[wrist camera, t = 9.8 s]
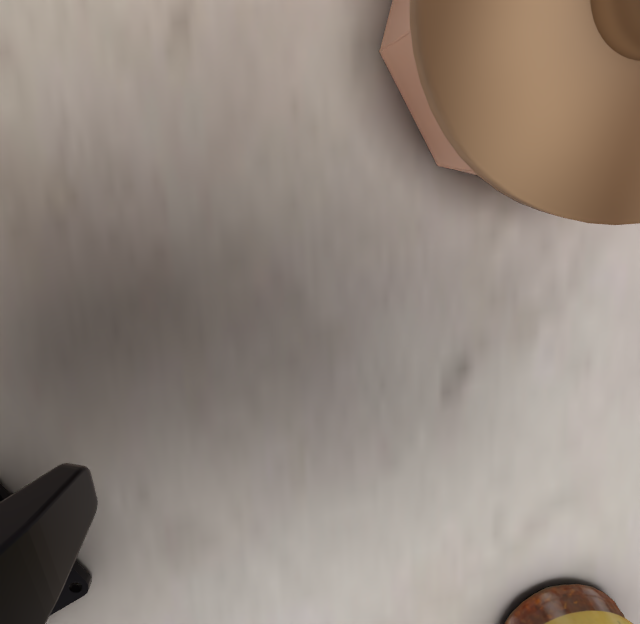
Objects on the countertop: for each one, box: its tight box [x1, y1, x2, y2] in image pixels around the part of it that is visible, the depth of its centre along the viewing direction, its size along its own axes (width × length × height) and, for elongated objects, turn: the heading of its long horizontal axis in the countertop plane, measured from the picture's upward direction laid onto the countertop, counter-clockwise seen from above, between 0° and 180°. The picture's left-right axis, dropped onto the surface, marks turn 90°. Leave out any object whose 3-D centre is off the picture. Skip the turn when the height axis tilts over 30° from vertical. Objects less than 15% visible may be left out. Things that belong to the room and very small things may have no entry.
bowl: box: [379, 0, 478, 176], centre depth 16 cm, size 10×10×4 cm
